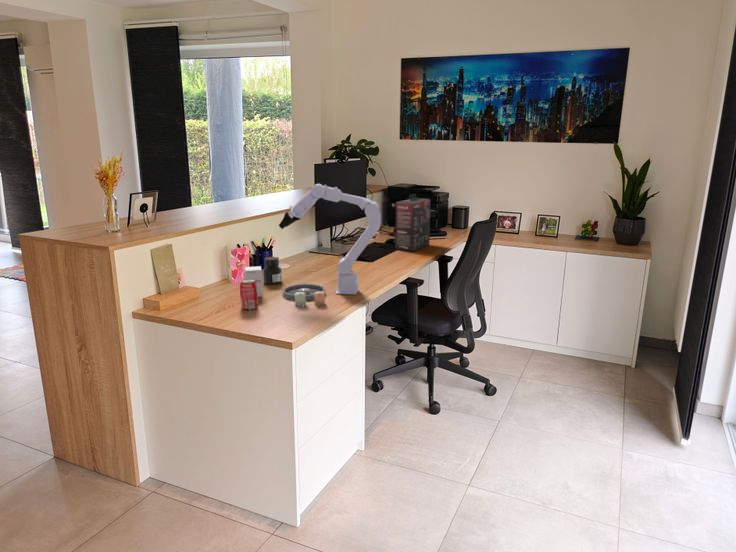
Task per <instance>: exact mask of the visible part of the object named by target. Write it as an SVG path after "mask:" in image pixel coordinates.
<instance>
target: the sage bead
mask: <svg viewBox="0 0 736 552" xmlns="http://www.w3.org/2000/svg"><path fill="white" fill-rule="evenodd" d="M305 304H306V300H305V293H304V292H297V293H295V300H294V305H297V306H296V307H304V306H303V305H305ZM305 306H306V305H305Z"/></svg>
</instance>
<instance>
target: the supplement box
mask: <svg viewBox="0 0 736 552" xmlns="http://www.w3.org/2000/svg"><path fill="white" fill-rule="evenodd" d="M243 269H244V270H243V271H244V279H255V282H256V284H257V292H258V298H259V297H260V298H261V297H264V293H263V292H264V291H263V290H264V289H263V269H262V267H261V266H260V265H259V266H245V267H243Z"/></svg>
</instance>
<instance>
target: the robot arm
mask: <svg viewBox="0 0 736 552" xmlns="http://www.w3.org/2000/svg"><path fill="white" fill-rule="evenodd" d="M320 199H323V200H326V201H329V202H330V201H331V202H333V203H334V202H335V203H338V202H340V201H343V202H347V203H349V204H353V205H357V206H358V207H359V208H360V209H361V210H362V211H363V210H364V214H365V216H366V218H367V221H368V226H367V227H366V228H365V230H364V231H363V233H362V234H361V235H360V237H359V238H358V239H357V241H356V242H355V243H354V245H353V246H352V247H351V249H350V250H349V251H348V252H347V253H346V255H345V256H343V257H341V258H340V259H339V262H338V265H336V266H337V272H336V273H337V275H336V276H337V279H336V280H337V289H336V291H335V294H336V295H357V293H358V291H359V274H358V273H355V272H354V270H353V269H352V267H353V265H354V264H355V262H356V261H357V259H358V258H359V256H360V255H361V254H362V252H363V251H364V250H365V248H366V247H367V246H368V245H369V243H370V242H371V240H372V239H373V237H374V236H375V235H376V234H377V232H379V229H380V228H381V221H382V220H381V219H382V218H381V217H382V216H381V214H382V211H381V207H380V204H379V203H378V202H377V201H375V200H372V199H370V198H366V197H363V196H359V195H353V194H349V193H344V192H342V190H341V189H338V187H337V186H334V187H331V186H327V184H324V185H322V184H321V183H316V184H314V185H313V186H312V187H311V188H310V190H308V191H307V193H305V194H304V195H303V196H302V197H301V198H300V199H299V200H298V201H297V202H296V203H295V204H294V205H293V206H292V205H289V207H288V208H290V212H288V211H286V212H285V213H284V215H283V218H282V220H281V221H280V223H279V225H278V227H279V228H280V229H281V230H283V229H285V228H287V227H289V226H290V225H292V224H293V223H295V222H297V221H299V220H301V219H302V217H303V216H304V214H306V213H307V212H308V211H309V210H310V209H311V208H312V207H313V206H314V205H315V204H316V202H317V201H318V200H320Z"/></svg>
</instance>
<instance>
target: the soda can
mask: <svg viewBox="0 0 736 552" xmlns="http://www.w3.org/2000/svg"><path fill="white" fill-rule="evenodd" d="M239 294H240V295H239V297H240V307H241V308H242V309H243V310H245V309H253V310H256V308H258V307H259V297H258V292H257V284H256V282H255V279H245V278H244V279H241V280H240V284H239Z"/></svg>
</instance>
